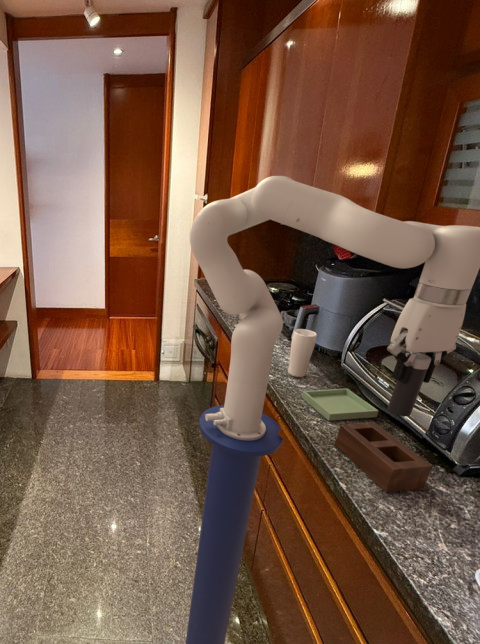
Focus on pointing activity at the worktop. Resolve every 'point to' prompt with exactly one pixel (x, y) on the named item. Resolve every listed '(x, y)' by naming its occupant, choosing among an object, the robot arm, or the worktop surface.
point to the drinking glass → (301, 351)
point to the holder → (383, 457)
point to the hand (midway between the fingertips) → (410, 379)
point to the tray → (339, 404)
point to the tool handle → (409, 387)
